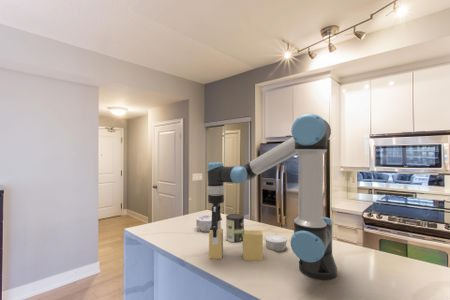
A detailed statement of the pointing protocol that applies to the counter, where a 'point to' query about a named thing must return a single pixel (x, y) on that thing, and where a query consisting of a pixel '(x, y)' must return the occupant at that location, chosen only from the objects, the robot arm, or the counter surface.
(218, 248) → the stub
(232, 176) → the robot arm
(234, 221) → the coffee can
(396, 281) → the counter surface
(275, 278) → the counter surface
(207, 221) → the paper bowls
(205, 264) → the counter surface
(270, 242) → the ramekin
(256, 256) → the tall yellow box
